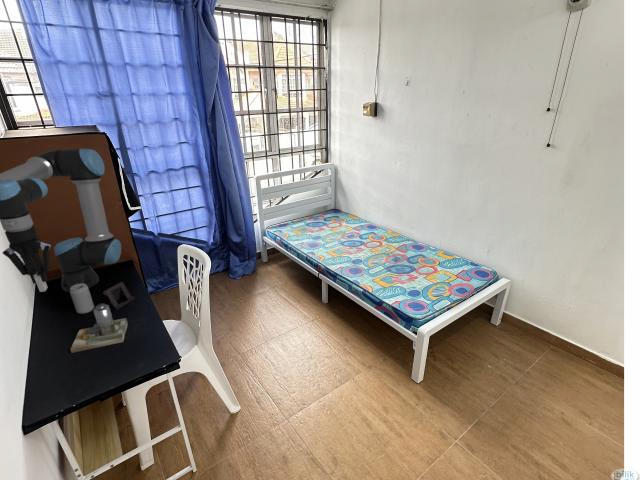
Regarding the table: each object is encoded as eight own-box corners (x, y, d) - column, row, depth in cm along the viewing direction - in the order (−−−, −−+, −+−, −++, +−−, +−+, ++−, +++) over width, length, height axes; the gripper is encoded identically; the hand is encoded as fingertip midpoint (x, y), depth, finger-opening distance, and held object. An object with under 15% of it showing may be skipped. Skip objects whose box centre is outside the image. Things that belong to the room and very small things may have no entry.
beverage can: (86, 315, 140) (77, 291, 135) (73, 313, 141) (64, 289, 137) (98, 307, 146) (90, 283, 141) (85, 305, 147) (78, 282, 142)
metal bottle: (102, 330, 129) (94, 303, 124) (117, 327, 130) (109, 300, 126) (99, 337, 124) (90, 310, 120) (114, 334, 126) (106, 307, 121)
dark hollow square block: (117, 310, 143) (112, 294, 140) (105, 306, 146) (100, 290, 143) (135, 300, 151) (130, 284, 148) (122, 296, 154) (118, 280, 150)
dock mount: (80, 332, 129) (78, 325, 128) (127, 323, 135) (125, 316, 133) (71, 352, 119) (68, 345, 118) (123, 341, 124) (120, 334, 123)
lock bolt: (86, 334, 126) (84, 328, 125) (101, 331, 128) (99, 326, 127) (83, 339, 123) (82, 334, 122) (99, 336, 125) (97, 331, 124)
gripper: (-12, 235, 103) (16, 299, 112) (39, 229, 107) (62, 291, 116) (-1, 226, 109) (25, 287, 119) (47, 221, 113) (68, 281, 123)
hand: (43, 289), depth 117 cm, fingers closed
